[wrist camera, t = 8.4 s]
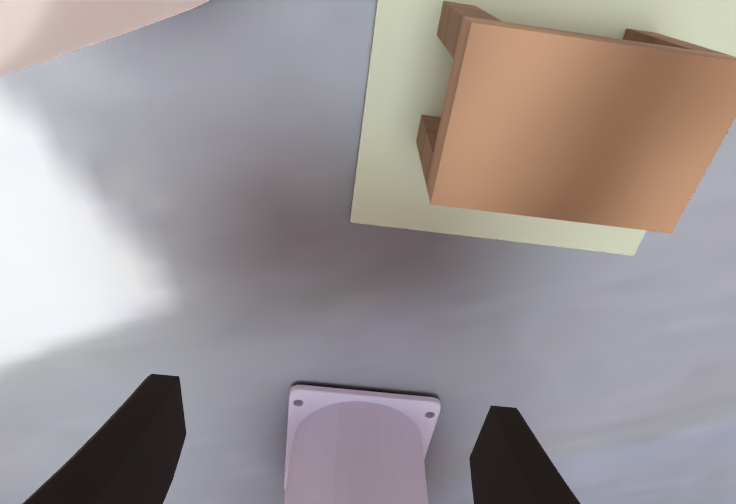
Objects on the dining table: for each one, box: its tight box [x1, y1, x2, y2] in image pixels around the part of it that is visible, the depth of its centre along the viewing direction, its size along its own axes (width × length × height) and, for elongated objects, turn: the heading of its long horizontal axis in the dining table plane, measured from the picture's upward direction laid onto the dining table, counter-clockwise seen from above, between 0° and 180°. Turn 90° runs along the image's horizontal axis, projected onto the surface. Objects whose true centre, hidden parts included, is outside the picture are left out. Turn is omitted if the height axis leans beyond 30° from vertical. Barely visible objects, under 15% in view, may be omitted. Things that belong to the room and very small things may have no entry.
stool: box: [416, 1, 736, 233], centre depth 14 cm, size 7×5×5 cm, turn 83°
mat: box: [350, 0, 736, 256], centre depth 16 cm, size 12×12×1 cm
